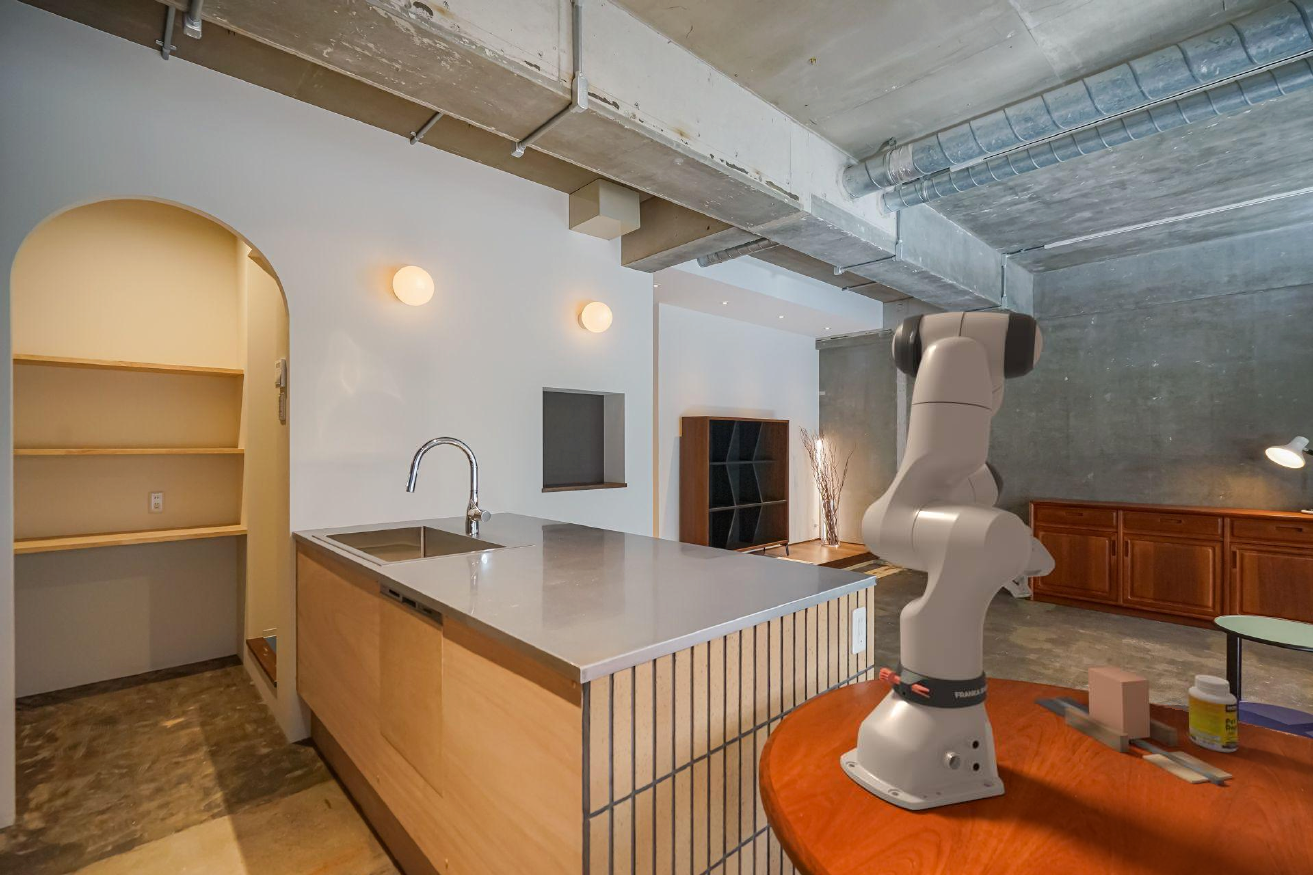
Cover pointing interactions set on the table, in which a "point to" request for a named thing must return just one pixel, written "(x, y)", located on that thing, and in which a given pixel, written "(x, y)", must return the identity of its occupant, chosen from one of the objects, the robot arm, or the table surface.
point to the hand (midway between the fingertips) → (1023, 595)
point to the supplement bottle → (1213, 714)
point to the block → (1120, 700)
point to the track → (1121, 740)
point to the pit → (1058, 708)
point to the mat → (1184, 771)
